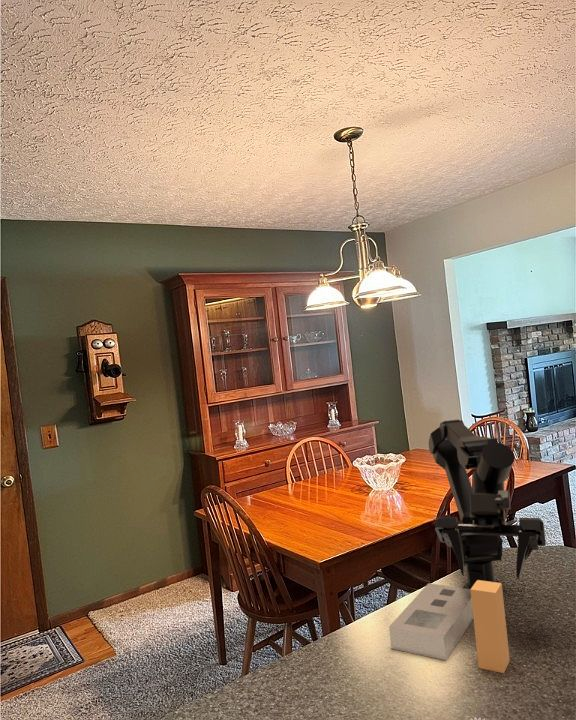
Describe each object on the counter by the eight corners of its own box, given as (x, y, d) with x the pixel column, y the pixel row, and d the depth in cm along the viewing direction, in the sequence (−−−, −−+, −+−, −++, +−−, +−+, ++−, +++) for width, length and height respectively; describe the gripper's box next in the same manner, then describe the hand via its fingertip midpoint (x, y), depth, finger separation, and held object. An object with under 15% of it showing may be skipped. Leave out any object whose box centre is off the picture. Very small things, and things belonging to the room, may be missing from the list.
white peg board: (430, 602, 119) (428, 582, 119) (478, 610, 113) (476, 589, 113) (391, 648, 102) (388, 626, 102) (445, 660, 96) (443, 636, 96)
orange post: (485, 655, 97) (477, 579, 97) (509, 660, 94) (501, 583, 94) (478, 667, 93) (470, 589, 93) (503, 673, 91) (495, 592, 91)
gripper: (431, 474, 108) (426, 552, 98) (538, 473, 100) (545, 557, 90) (442, 504, 115) (438, 580, 105) (542, 505, 107) (549, 586, 97)
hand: (489, 576), depth 99 cm, fingers open, 9 cm apart
